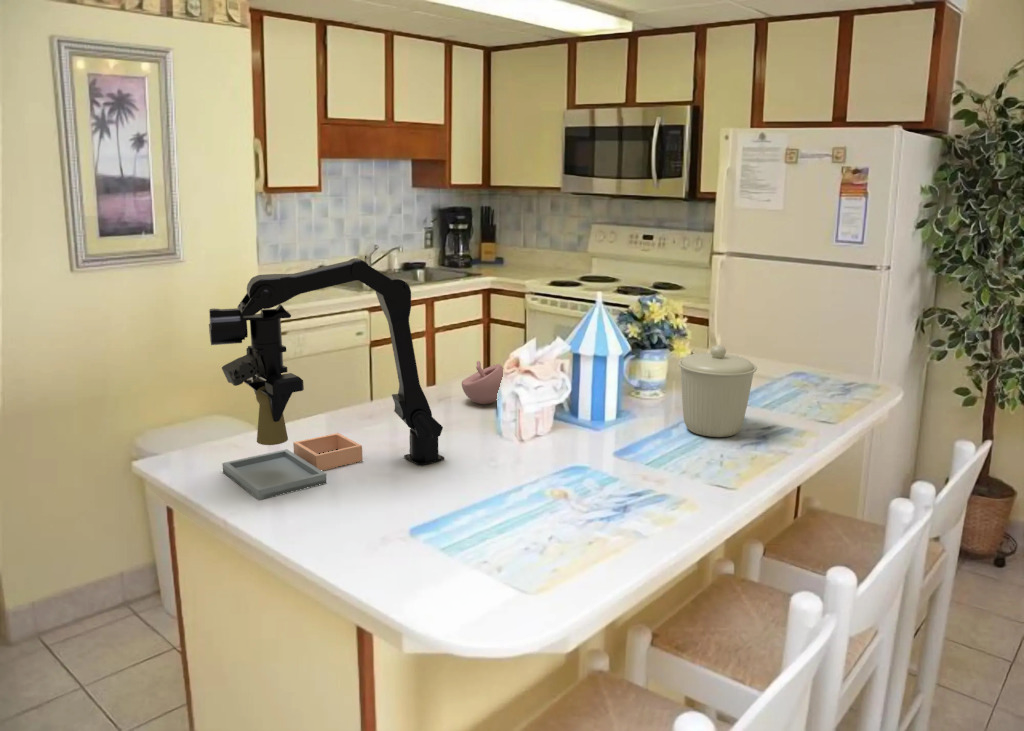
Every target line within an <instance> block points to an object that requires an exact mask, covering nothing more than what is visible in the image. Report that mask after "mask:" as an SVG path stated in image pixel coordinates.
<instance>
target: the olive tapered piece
mask: <svg viewBox="0 0 1024 731" xmlns="http://www.w3.org/2000/svg"><path fill="white" fill-rule="evenodd" d="M261 390H266V388H265V386H263V387H260V388H259V389H258V390H257V392H256V394H255V399H256V402H257V404H260V405H258V406H259V407H258V420H257V421H258V422H257V431H256V432H257V434H256V443H257V444H258V445H262V446H275V445H282V444H283V443H285V442H287V441H288V440H289V438H288V432H287V427H286V422H285V416H284V413H283V414H282V416H281V418H280V421H278V422H274V421H273V417H272V413H271V408H270V403H269V398H268V396H266V395H265V394H264V393H263V392H261Z"/></svg>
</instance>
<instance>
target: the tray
mask: <svg viewBox="0 0 1024 731" xmlns="http://www.w3.org/2000/svg"><path fill="white" fill-rule="evenodd" d="M221 465H222V473H223V474H225V475H226V476H227V477H229V478H230V479H231V480H233V481H234V482H235V483H236V484H238V486H240V487H242V489H243V490H245V491H247V492H248V493H249V494H250V495H251V496H253V498H256V499H257V500H258V501H260V500H261V501H262V500H264V499H270V498H272V496H273V497H276V495H277V496H281V495H280V494H282V495H284V494H283V493H286V494H288V493H287V492H290V493H292V492H291V491H294V492H297V491H296V490H298V491H301V490H300V489H302V490H305V489H304V488H306V489H308V488H307V487H310V488H312V487H311V486H314V487H316V486H315V485H318V486H320V485H319V484H322V485H324V484H323V483H326V484H327V479H328V478H327V473H326V472H325V471H321V470H319V469H318V468H316V467H315V466H313V465H311V464H310V463H308V462H307V461H305V460H303V459H302V458H300V457H299V456H297V455H295V454H294V452H292V451H291V450H289V449H280V450H276V451H272V452H267V453H263V454H258V455H254V456H249V457H245V458H240V459H235V460H231V461H225V462H222V463H221Z"/></svg>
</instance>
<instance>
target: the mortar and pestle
mask: <svg viewBox="0 0 1024 731" xmlns="http://www.w3.org/2000/svg"><path fill="white" fill-rule="evenodd" d="M475 367H476V370H477V372H474V373H473V374H471V375H469V376H468V377H466V378H464V379H463V380H461V387H462V391H463V393H464V394H465V395H466V397H467V398H468V399H469V401H470V400H471V401H472V402H473V403H476V404H479V405H489V404H493V403H495V402H497V401H496V399H497V393H498V390H499V387H500V383H501V380H502V377H503V369H504V367H503V366H502V365H501V363H496V364H492V365H491V366H487V367H486V368H483V369H482V366H481V361H480V360H477V361H476V366H475Z"/></svg>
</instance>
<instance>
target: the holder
mask: <svg viewBox="0 0 1024 731" xmlns="http://www.w3.org/2000/svg"><path fill="white" fill-rule="evenodd" d="M336 449H338V450H336ZM331 450H333V451H331ZM328 451H329V452H328ZM323 452H324V453H323ZM293 453H294V454H295V455H297V456H299V457H300V458H302V459H303V460H305V461H307V462H308V463H310V464H311V465H313V466H315V467H316V468H318V469H319V470H324V471H327V470H326V469H328V470H332V469H335V467H336V468H339V467H338V466H341V467H343V466H342V465H345V466H348V465H347V464H349V465H352V464H351V463H353V464H356V462H357V463H360V462H359V461H362V462H363V445H362V444H360V443H358V442H356V441H354V440H353V439H350V438H348V437H347V436H345V435H343V434H341V433H339V432H335V433H331V434H327V435H326V434H325V435H321V436H317V437H312V438H308V439H303V440H299V441H293ZM319 453H320V454H319ZM331 468H332V469H331Z"/></svg>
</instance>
